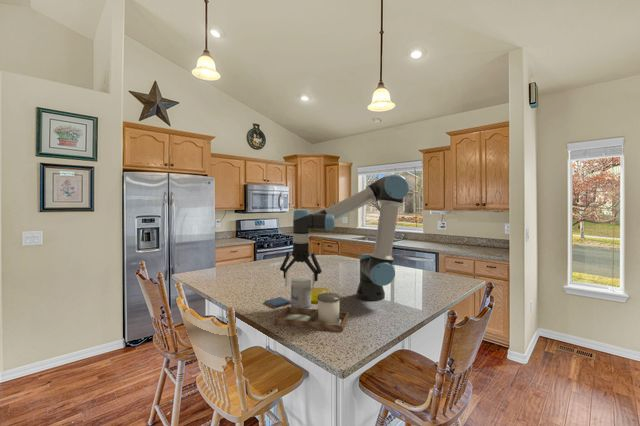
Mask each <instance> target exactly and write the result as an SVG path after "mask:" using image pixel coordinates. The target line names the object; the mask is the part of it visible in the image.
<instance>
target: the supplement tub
mask: <svg viewBox="0 0 640 426" xmlns="http://www.w3.org/2000/svg"><path fill="white" fill-rule="evenodd" d="M290 284H291V286H290V287H291V288H290V289H291V290H290V293H291V294H290V298H291V299H290V301H291V304H290V307H297V308H308V309H312V304H311V288H312V278H311V277H309V276H304V275H302V276H300V275H299V276H294V277H292V278H291V283H290Z"/></svg>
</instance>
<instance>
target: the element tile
mask: <svg viewBox="0 0 640 426" xmlns="http://www.w3.org/2000/svg"><path fill="white" fill-rule="evenodd" d="M322 293H330V290H329V288H327V287H326V288H321V287H315V288H314V289H312V287H311V305H318V299H317V296H318V295H319V294H322Z"/></svg>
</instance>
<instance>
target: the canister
mask: <svg viewBox="0 0 640 426" xmlns="http://www.w3.org/2000/svg"><path fill="white" fill-rule="evenodd" d="M317 299H318V304H317V309H318V316H317V319H318V322H319V323H328V324H339V319H340V317H339V312H340V301H341V295H340V294H337V293H335V292H329V293H322V294H319V295H318V296H317Z"/></svg>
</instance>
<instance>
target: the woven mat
mask: <svg viewBox="0 0 640 426" xmlns="http://www.w3.org/2000/svg"><path fill="white" fill-rule="evenodd" d="M264 304H265V305H266V306H269V307H271V308H273V309H278V308H281V307H285V306H288V305H291V299H290V300H289V299H286V298H284V297H281V296H279V297H275V298H272V299H271V298H270V299H267V300H264ZM277 307H278V308H277Z"/></svg>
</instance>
